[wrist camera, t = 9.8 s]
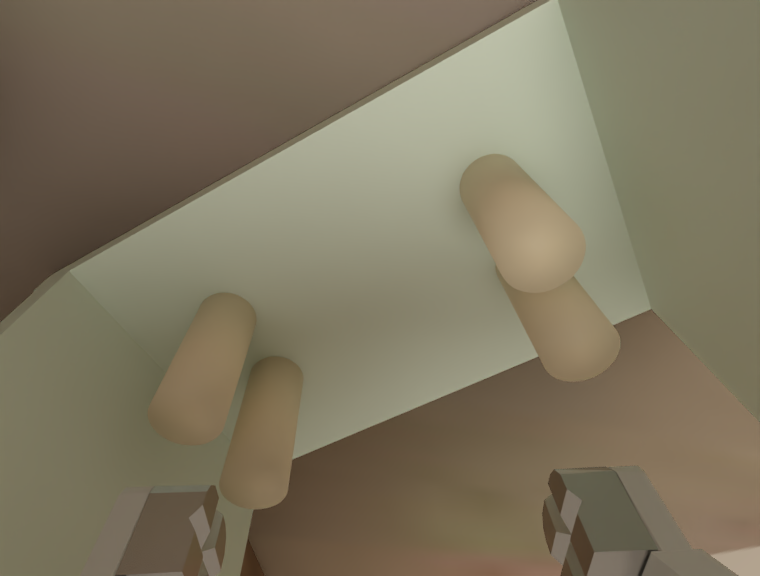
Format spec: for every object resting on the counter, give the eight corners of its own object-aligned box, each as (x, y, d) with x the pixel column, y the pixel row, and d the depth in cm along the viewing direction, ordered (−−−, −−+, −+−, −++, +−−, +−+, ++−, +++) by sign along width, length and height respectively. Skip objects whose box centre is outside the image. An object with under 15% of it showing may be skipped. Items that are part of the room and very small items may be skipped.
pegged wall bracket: (235, 465, 21) (149, 799, 12) (50, 275, 16) (-301, 589, 8) (677, 276, 17) (1003, 556, 9) (596, -34, 13) (1112, -106, 4)
